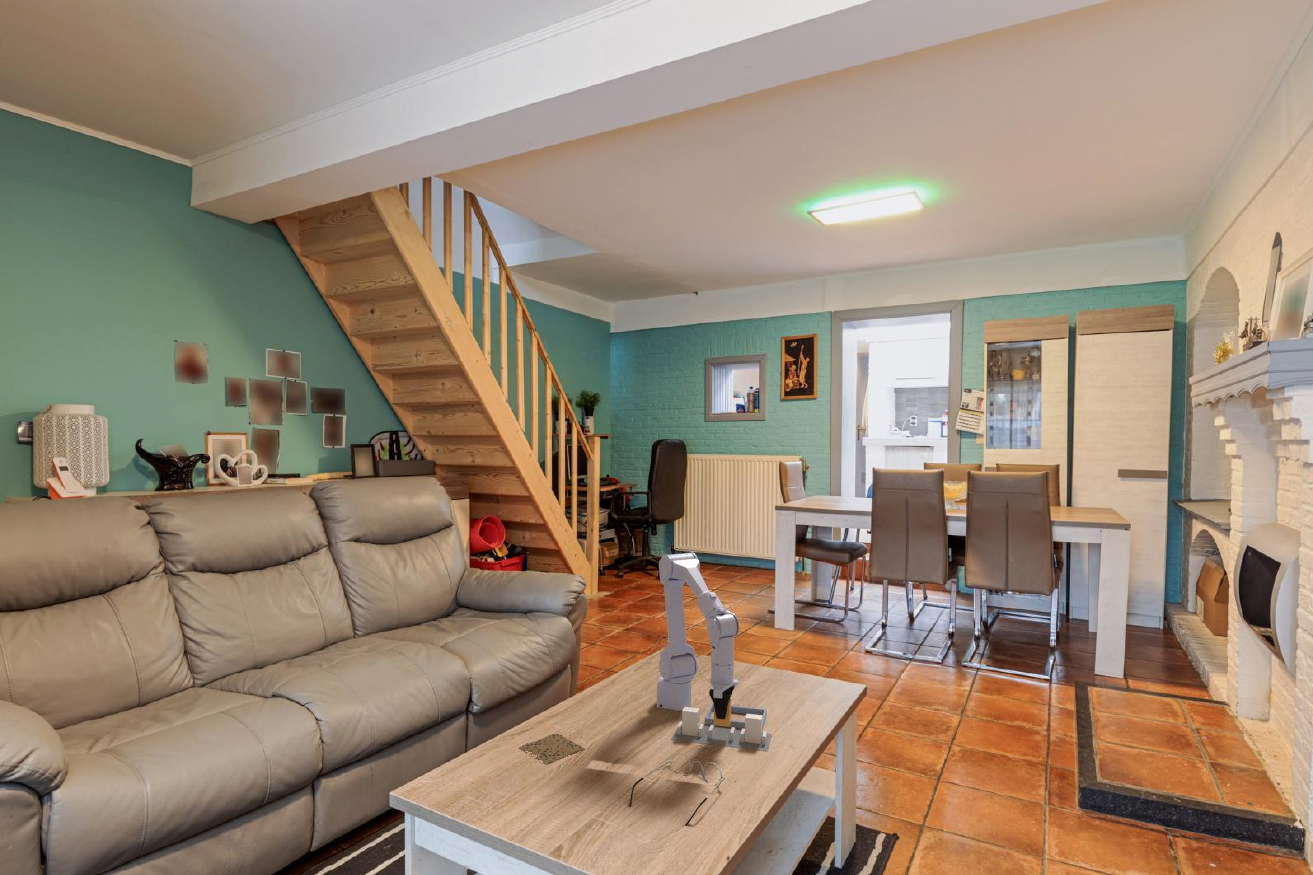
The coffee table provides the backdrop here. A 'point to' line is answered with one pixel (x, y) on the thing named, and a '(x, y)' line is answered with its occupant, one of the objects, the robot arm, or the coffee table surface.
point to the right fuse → (753, 728)
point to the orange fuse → (727, 719)
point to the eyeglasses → (684, 775)
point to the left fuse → (690, 721)
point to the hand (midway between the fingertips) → (721, 715)
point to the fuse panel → (722, 737)
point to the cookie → (552, 748)
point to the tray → (738, 710)
